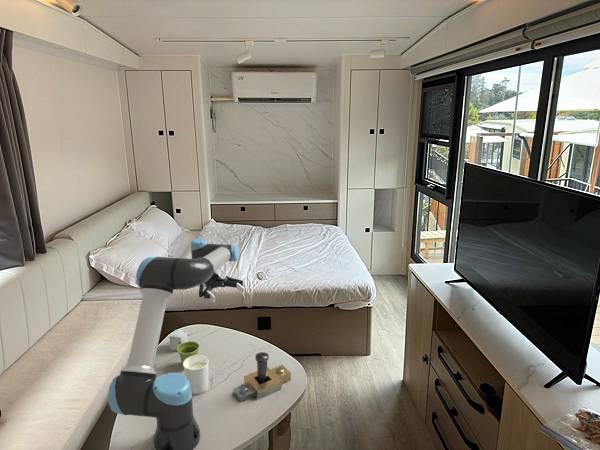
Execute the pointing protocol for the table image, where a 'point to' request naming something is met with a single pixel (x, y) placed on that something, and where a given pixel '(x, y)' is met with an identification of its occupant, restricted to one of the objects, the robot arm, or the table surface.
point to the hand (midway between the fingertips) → (229, 295)
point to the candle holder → (197, 373)
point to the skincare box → (177, 338)
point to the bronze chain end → (274, 376)
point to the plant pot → (187, 350)
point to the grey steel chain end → (251, 392)
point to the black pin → (262, 367)
